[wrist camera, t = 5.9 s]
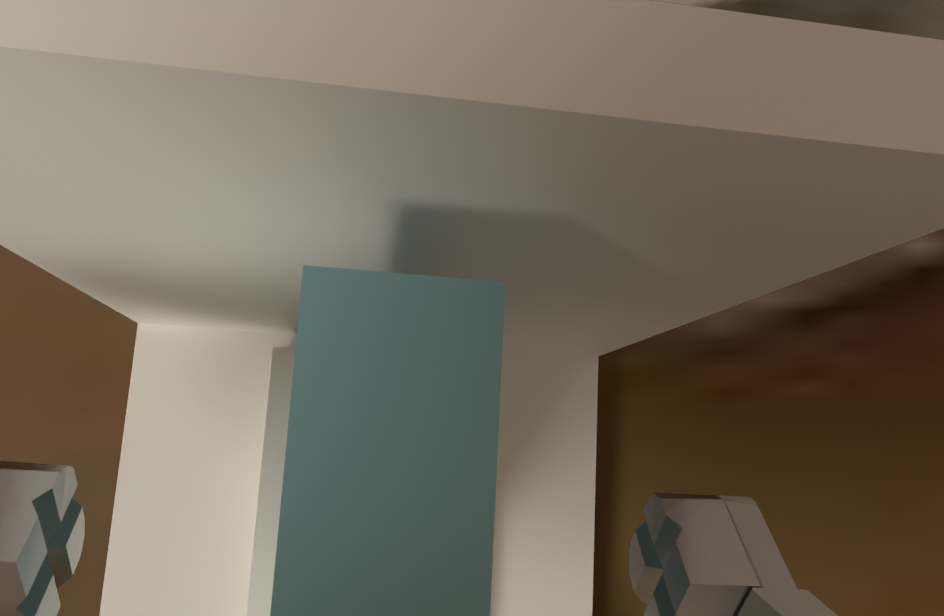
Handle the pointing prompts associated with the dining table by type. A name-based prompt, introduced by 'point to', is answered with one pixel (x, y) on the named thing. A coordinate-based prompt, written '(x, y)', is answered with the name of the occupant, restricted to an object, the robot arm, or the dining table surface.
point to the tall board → (391, 446)
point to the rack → (430, 222)
